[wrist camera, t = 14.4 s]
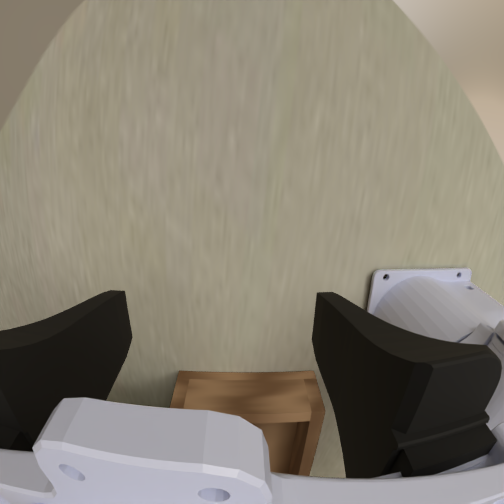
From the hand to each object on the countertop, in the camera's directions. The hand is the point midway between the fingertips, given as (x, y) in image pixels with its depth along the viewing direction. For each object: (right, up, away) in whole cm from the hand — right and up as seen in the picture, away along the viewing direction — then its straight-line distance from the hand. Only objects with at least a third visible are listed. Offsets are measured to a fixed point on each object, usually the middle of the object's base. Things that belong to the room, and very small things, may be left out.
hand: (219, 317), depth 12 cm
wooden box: (+1, -15, +16) cm, 22 cm away
